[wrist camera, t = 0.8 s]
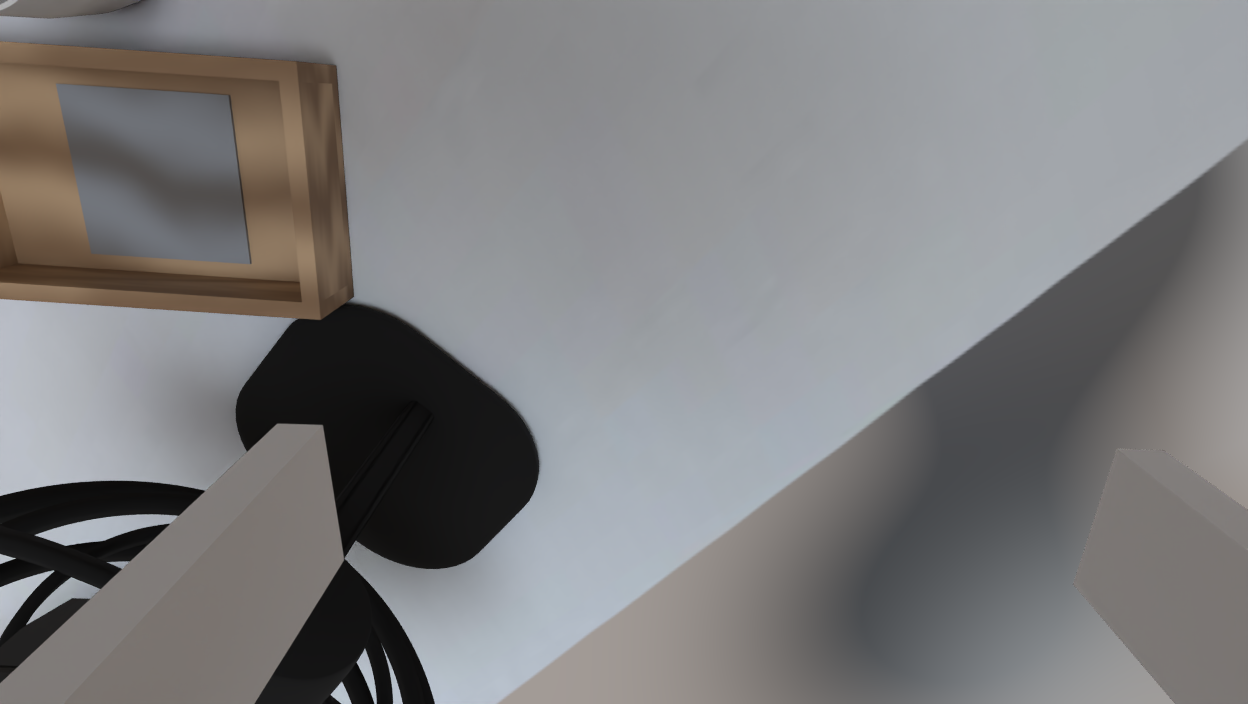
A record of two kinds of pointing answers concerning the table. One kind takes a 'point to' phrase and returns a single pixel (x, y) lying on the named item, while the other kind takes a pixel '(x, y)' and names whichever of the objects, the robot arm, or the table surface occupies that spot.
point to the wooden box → (172, 182)
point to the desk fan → (362, 484)
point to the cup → (59, 7)
